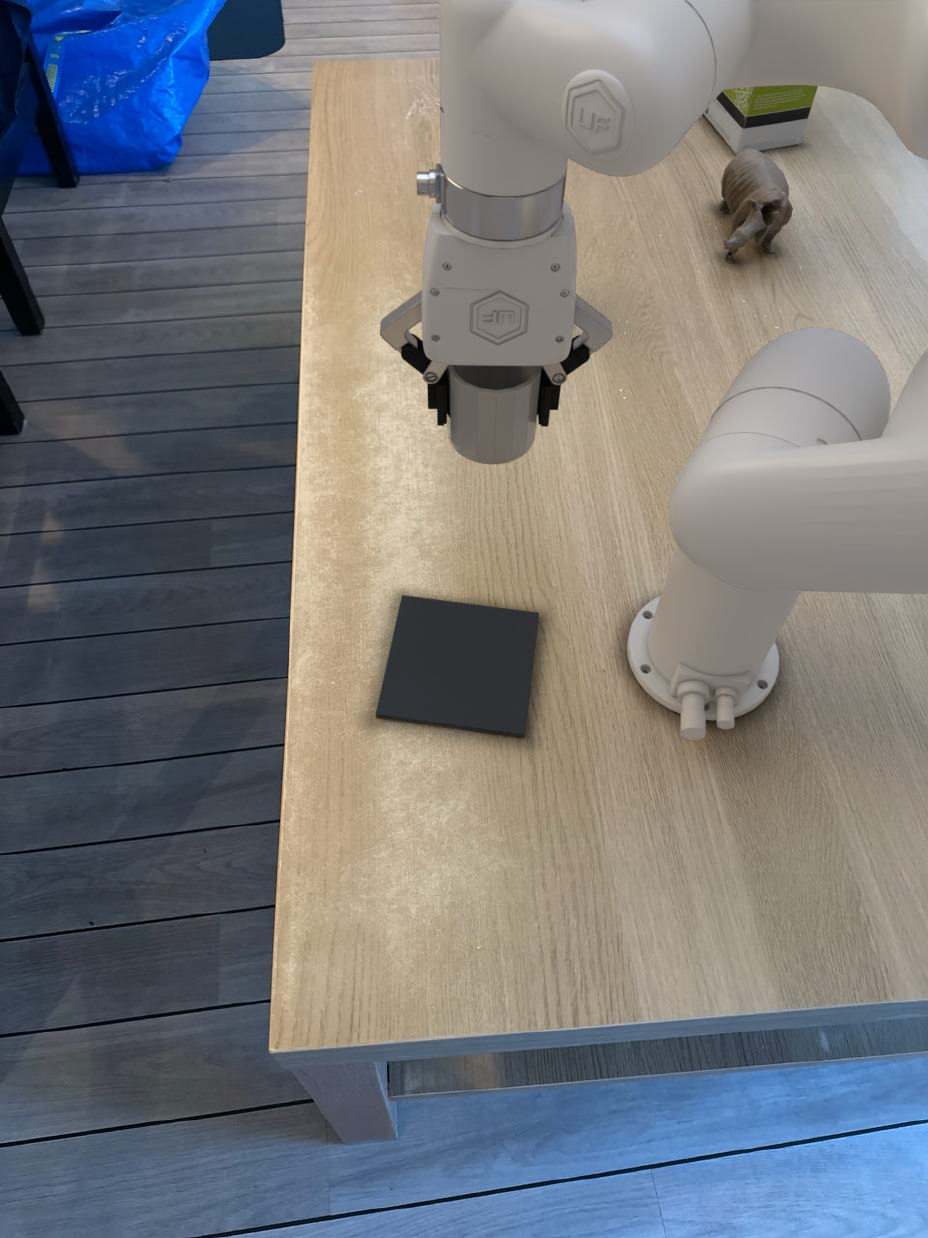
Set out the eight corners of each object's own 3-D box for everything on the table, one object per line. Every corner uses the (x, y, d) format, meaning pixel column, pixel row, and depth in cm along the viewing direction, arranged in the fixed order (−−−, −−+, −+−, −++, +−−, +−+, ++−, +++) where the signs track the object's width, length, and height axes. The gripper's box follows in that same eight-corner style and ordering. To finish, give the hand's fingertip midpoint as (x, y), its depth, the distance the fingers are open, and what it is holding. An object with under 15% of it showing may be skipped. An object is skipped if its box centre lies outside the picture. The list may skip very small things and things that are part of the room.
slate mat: (524, 738, 76) (524, 734, 76) (376, 717, 77) (375, 714, 76) (538, 616, 83) (539, 612, 83) (402, 598, 84) (401, 594, 83)
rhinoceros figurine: (781, 179, 119) (807, 117, 104) (771, 290, 119) (796, 243, 104) (717, 178, 120) (734, 116, 105) (707, 287, 120) (722, 241, 105)
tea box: (686, 100, 135) (711, -18, 122) (750, 91, 137) (781, -26, 124) (734, 156, 126) (766, 36, 114) (801, 146, 128) (840, 27, 116)
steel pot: (529, 470, 72) (535, 398, 66) (440, 458, 73) (439, 386, 67) (540, 409, 76) (547, 336, 70) (456, 398, 76) (456, 325, 71)
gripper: (354, 226, 56) (374, 447, 70) (652, 229, 56) (611, 449, 70) (362, 157, 60) (380, 379, 75) (639, 160, 60) (602, 381, 75)
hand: (492, 412), depth 72 cm, fingers closed on steel pot, 7 cm apart
